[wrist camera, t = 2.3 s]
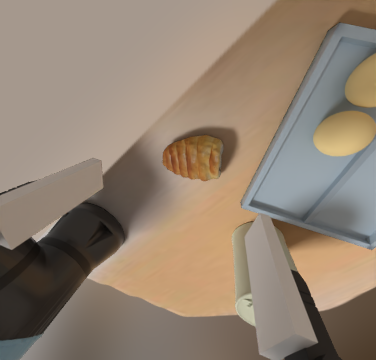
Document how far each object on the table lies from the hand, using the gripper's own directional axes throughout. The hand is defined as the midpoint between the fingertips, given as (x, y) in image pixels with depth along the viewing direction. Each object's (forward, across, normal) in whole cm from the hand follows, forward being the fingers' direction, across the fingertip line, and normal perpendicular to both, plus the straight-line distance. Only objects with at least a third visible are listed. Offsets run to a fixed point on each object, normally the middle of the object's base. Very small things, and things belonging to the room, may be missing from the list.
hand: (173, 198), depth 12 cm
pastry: (+13, 0, -1) cm, 13 cm away
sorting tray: (+13, +19, +5) cm, 24 cm away
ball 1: (+12, +14, +7) cm, 20 cm away
